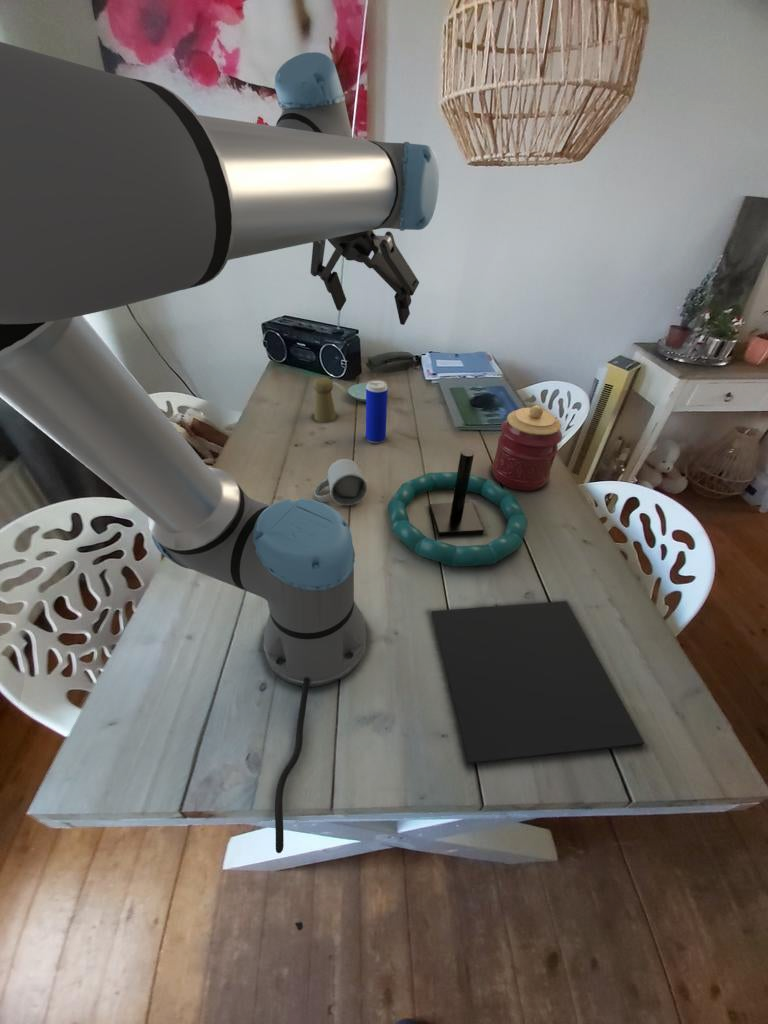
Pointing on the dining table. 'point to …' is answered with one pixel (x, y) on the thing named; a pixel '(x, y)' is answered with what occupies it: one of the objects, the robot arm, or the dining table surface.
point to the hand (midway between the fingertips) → (372, 312)
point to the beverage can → (376, 411)
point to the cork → (323, 400)
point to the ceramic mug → (343, 483)
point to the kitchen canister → (527, 448)
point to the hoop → (446, 551)
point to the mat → (528, 683)
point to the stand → (458, 505)
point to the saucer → (358, 391)
